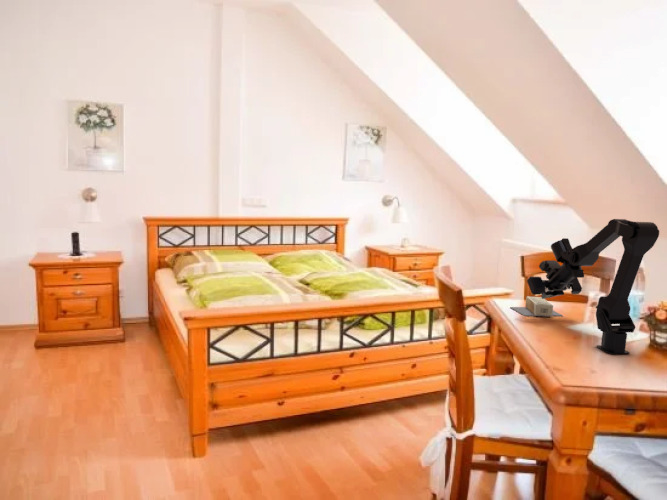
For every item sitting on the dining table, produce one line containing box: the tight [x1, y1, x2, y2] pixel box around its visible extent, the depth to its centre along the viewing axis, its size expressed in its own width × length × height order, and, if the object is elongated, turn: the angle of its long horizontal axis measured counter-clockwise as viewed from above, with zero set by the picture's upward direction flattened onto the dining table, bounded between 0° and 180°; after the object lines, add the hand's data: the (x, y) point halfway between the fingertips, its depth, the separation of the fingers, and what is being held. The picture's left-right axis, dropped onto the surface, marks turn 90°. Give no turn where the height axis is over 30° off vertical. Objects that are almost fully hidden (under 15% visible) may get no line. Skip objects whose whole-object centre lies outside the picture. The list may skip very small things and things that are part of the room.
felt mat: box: [509, 306, 564, 317], centre depth 198 cm, size 11×15×1 cm
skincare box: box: [524, 295, 554, 317], centre depth 197 cm, size 6×4×12 cm
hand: (542, 297), depth 191 cm, fingers closed
